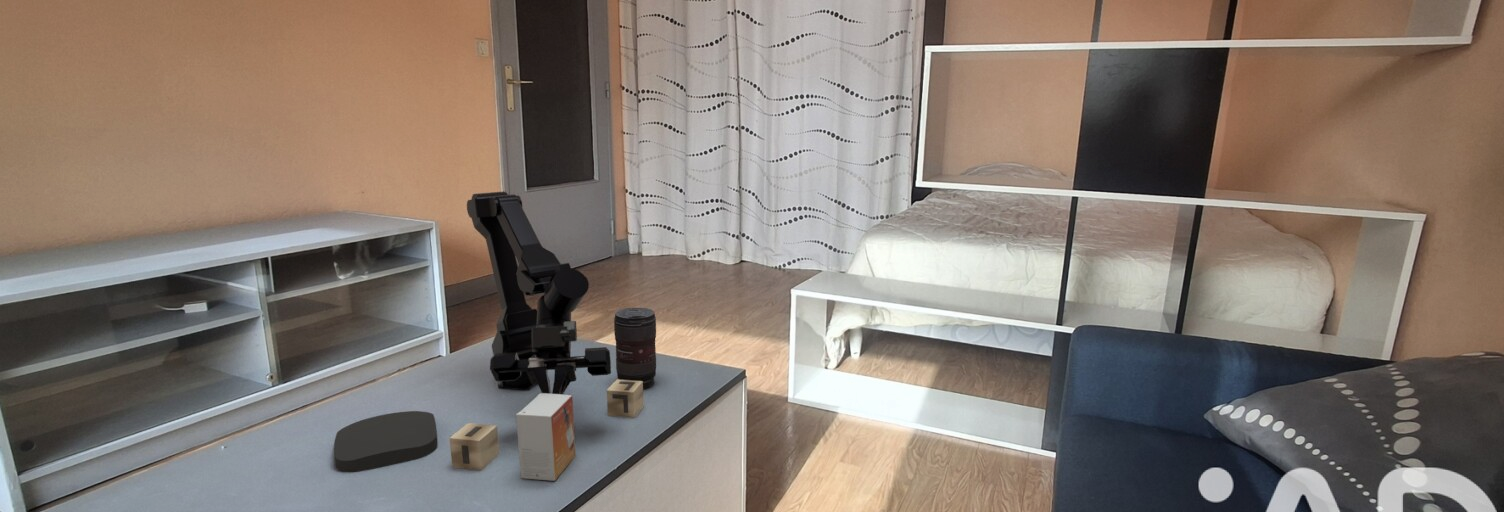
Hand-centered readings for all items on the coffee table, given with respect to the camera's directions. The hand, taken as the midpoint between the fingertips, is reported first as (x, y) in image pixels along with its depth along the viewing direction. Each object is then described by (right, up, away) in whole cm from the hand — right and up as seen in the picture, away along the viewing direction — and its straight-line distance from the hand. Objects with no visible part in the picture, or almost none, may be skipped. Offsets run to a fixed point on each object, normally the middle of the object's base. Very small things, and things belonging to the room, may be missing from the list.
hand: (550, 414), depth 108 cm
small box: (+1, -8, -3) cm, 8 cm away
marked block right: (+9, -3, +16) cm, 19 cm away
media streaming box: (-28, -6, +4) cm, 29 cm away
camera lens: (+9, -1, +28) cm, 30 cm away
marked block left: (-11, -7, -1) cm, 14 cm away
